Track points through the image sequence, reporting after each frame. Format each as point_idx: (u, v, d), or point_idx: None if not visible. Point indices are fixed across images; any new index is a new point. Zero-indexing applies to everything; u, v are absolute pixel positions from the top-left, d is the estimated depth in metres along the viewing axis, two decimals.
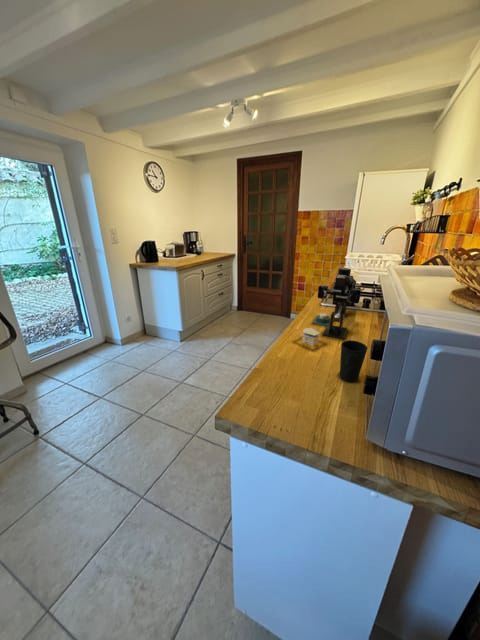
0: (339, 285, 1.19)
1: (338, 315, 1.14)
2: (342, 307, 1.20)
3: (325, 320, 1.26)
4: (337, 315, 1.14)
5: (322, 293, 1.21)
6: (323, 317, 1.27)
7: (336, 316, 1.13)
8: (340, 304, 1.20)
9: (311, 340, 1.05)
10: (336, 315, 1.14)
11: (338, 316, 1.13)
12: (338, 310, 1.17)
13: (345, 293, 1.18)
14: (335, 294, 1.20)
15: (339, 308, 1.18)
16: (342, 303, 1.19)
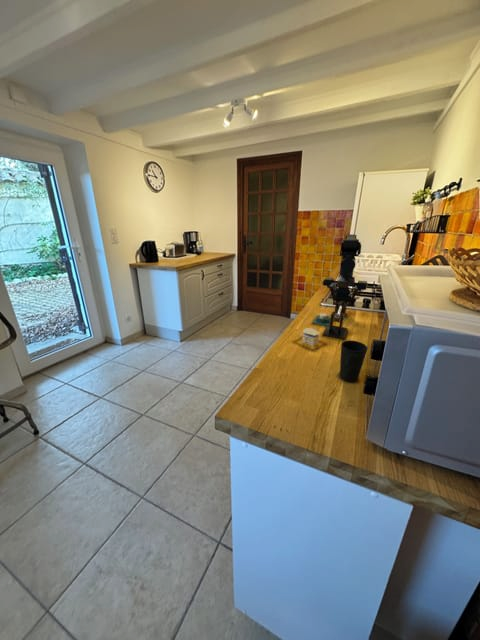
0: None
1: (338, 315, 1.14)
2: (342, 307, 1.20)
3: (325, 320, 1.26)
4: (337, 315, 1.14)
5: None
6: (323, 317, 1.27)
7: (336, 316, 1.13)
8: (340, 304, 1.20)
9: (311, 340, 1.05)
10: (336, 315, 1.14)
11: (338, 316, 1.13)
12: (338, 310, 1.17)
13: None
14: None
15: (339, 308, 1.18)
16: (342, 303, 1.19)
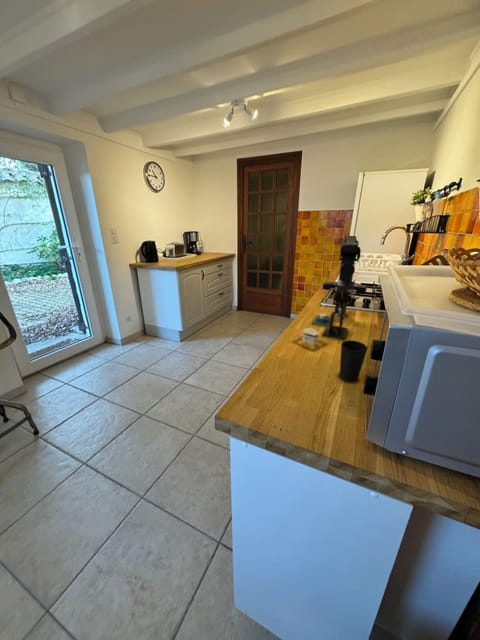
0: None
1: (338, 315, 1.14)
2: (342, 310, 1.21)
3: (325, 320, 1.26)
4: (337, 315, 1.14)
5: None
6: (323, 317, 1.27)
7: (336, 315, 1.13)
8: (340, 307, 1.21)
9: (311, 340, 1.05)
10: (336, 315, 1.14)
11: (338, 316, 1.13)
12: (338, 312, 1.18)
13: None
14: None
15: (339, 310, 1.19)
16: (342, 306, 1.20)
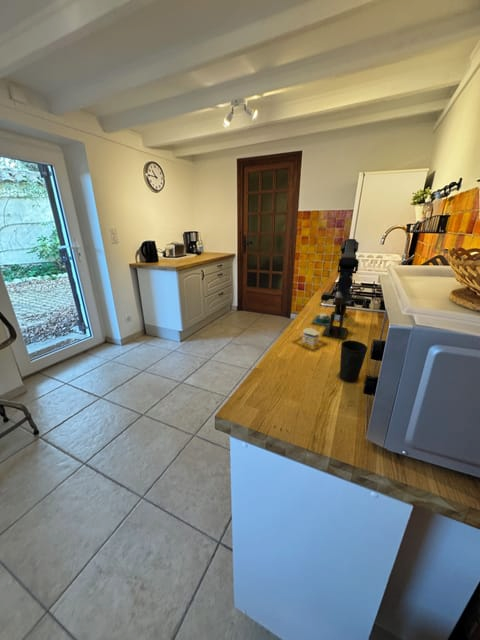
0: None
1: (338, 315, 1.14)
2: None
3: (325, 320, 1.26)
4: (337, 315, 1.14)
5: None
6: (323, 317, 1.27)
7: None
8: None
9: (311, 340, 1.05)
10: None
11: (338, 315, 1.14)
12: None
13: None
14: None
15: None
16: (340, 316, 1.22)
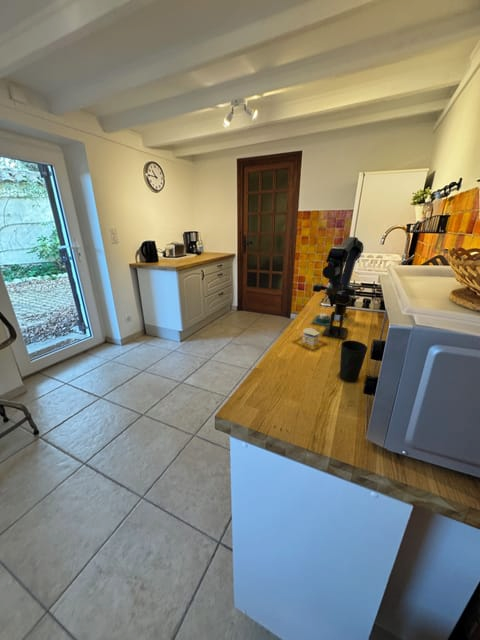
0: None
1: (338, 315, 1.14)
2: None
3: (325, 320, 1.26)
4: (337, 315, 1.14)
5: None
6: (323, 317, 1.27)
7: None
8: None
9: (311, 340, 1.05)
10: None
11: (338, 315, 1.14)
12: None
13: None
14: None
15: None
16: (340, 316, 1.22)
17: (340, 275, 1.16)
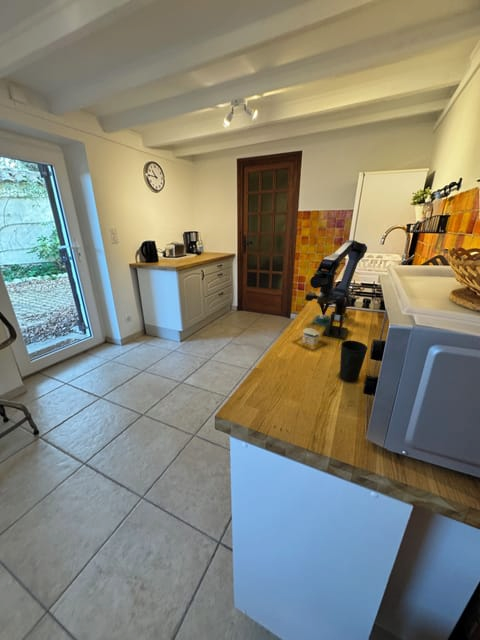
0: None
1: (338, 315, 1.14)
2: None
3: (325, 320, 1.26)
4: (337, 315, 1.14)
5: None
6: (323, 317, 1.27)
7: None
8: None
9: (311, 340, 1.05)
10: None
11: (338, 315, 1.14)
12: None
13: None
14: None
15: None
16: (340, 316, 1.22)
17: (330, 285, 1.20)
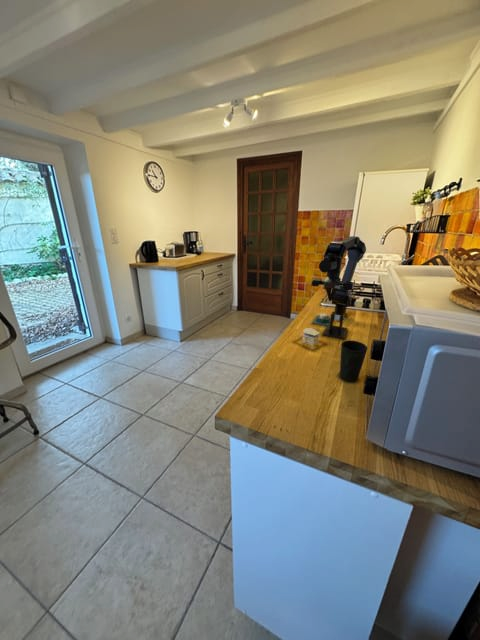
0: None
1: (338, 315, 1.14)
2: None
3: (325, 320, 1.26)
4: (337, 315, 1.14)
5: None
6: (323, 317, 1.27)
7: None
8: None
9: (311, 340, 1.05)
10: None
11: (338, 315, 1.14)
12: None
13: None
14: None
15: None
16: (340, 316, 1.22)
17: (338, 270, 1.17)
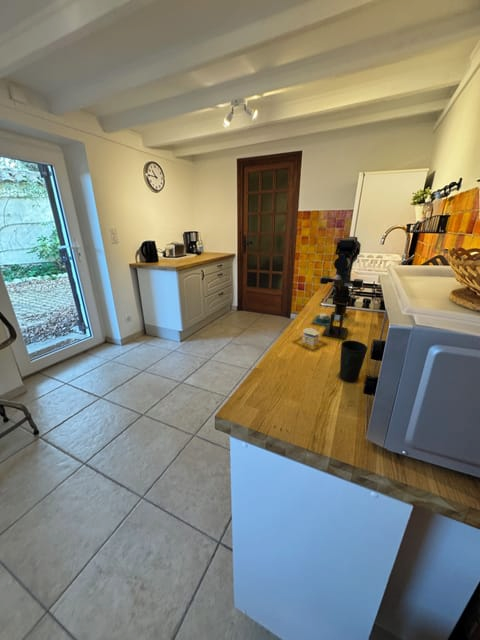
0: None
1: (338, 315, 1.14)
2: None
3: (325, 320, 1.26)
4: (337, 315, 1.14)
5: None
6: (323, 317, 1.27)
7: None
8: None
9: (311, 340, 1.05)
10: None
11: (338, 315, 1.14)
12: None
13: None
14: None
15: None
16: (340, 316, 1.22)
17: (348, 267, 1.16)
